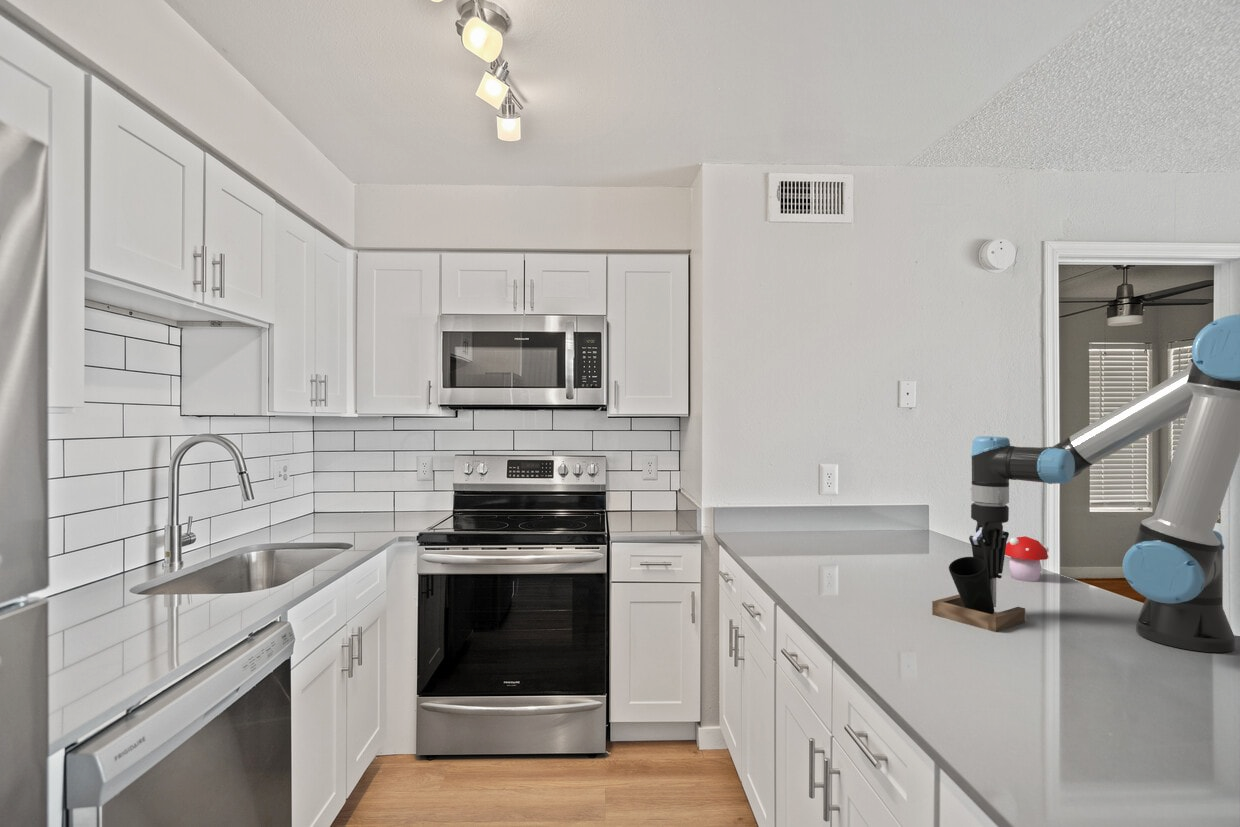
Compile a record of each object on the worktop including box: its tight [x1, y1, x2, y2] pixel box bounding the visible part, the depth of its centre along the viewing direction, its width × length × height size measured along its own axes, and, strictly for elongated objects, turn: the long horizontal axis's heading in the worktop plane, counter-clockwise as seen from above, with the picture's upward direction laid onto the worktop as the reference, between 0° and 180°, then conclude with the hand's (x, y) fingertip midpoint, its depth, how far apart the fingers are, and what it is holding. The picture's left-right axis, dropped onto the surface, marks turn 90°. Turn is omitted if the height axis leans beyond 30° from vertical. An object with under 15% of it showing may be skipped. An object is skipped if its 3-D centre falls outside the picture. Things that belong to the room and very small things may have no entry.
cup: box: [948, 556, 995, 614], centre depth 145 cm, size 8×8×12 cm
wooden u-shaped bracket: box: [931, 594, 1026, 633], centre depth 145 cm, size 14×12×3 cm
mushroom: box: [1005, 536, 1049, 583], centre depth 181 cm, size 11×11×12 cm
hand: (988, 605), depth 148 cm, fingers closed
